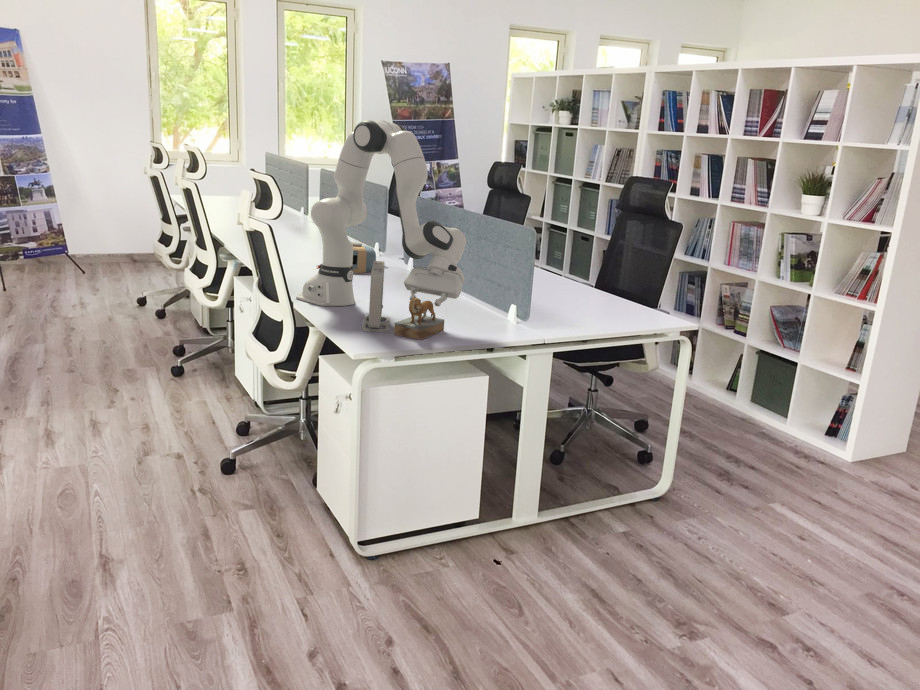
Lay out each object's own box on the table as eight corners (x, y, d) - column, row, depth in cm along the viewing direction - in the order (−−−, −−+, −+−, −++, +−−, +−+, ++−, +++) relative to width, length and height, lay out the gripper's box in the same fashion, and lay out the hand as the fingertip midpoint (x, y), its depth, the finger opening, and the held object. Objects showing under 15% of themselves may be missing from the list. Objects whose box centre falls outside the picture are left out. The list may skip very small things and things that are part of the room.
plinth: (393, 334, 261) (394, 322, 260) (418, 325, 275) (418, 314, 274) (420, 340, 257) (421, 328, 256) (443, 330, 271) (444, 319, 270)
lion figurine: (418, 327, 256) (420, 300, 254) (403, 324, 258) (405, 297, 256) (438, 319, 269) (440, 293, 267) (424, 316, 271) (426, 290, 269)
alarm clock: (326, 269, 364) (327, 243, 361) (344, 263, 382) (345, 238, 379) (364, 274, 359) (366, 248, 356) (381, 268, 377) (383, 243, 374)
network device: (364, 315, 284) (367, 259, 279) (389, 316, 285) (392, 261, 279) (361, 333, 259) (363, 272, 254) (388, 334, 260) (391, 274, 255)
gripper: (411, 260, 273) (394, 292, 267) (464, 269, 264) (448, 302, 259) (416, 271, 278) (400, 303, 272) (469, 280, 270) (453, 313, 264)
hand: (424, 302), depth 265 cm, fingers open, 8 cm apart
